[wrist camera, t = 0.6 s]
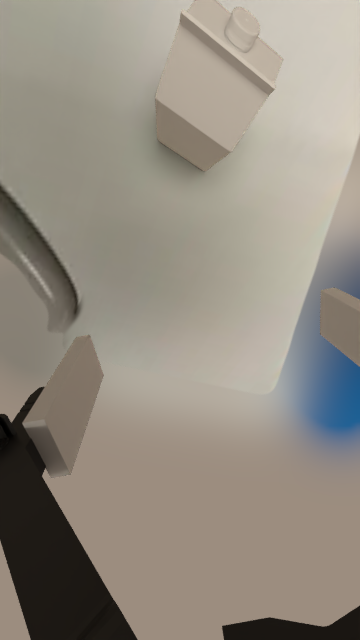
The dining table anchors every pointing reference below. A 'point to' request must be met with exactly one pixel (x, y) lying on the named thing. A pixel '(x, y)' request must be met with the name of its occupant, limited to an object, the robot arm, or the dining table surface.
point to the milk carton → (213, 82)
